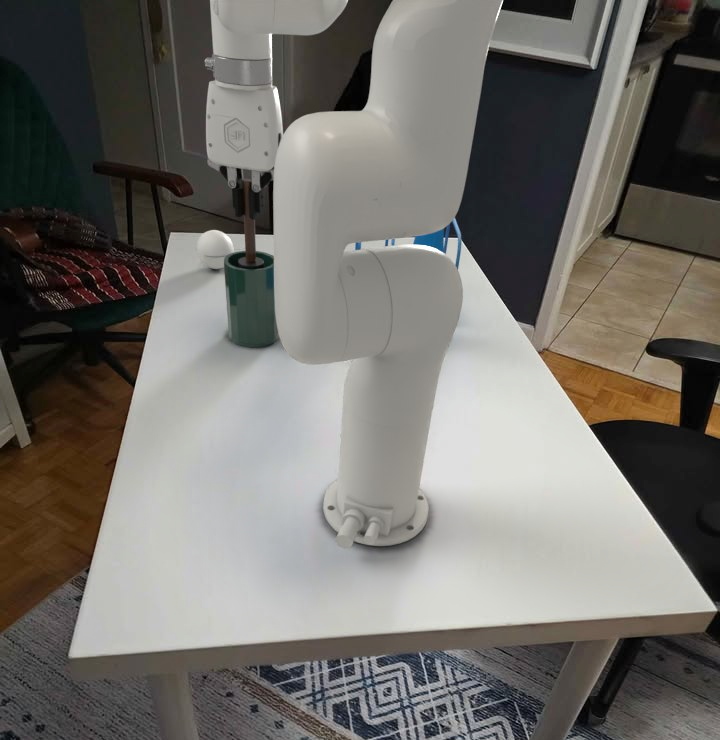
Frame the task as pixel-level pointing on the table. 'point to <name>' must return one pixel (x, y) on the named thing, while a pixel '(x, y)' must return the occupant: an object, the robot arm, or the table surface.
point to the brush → (249, 233)
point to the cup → (250, 301)
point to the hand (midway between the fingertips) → (248, 215)
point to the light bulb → (214, 248)
